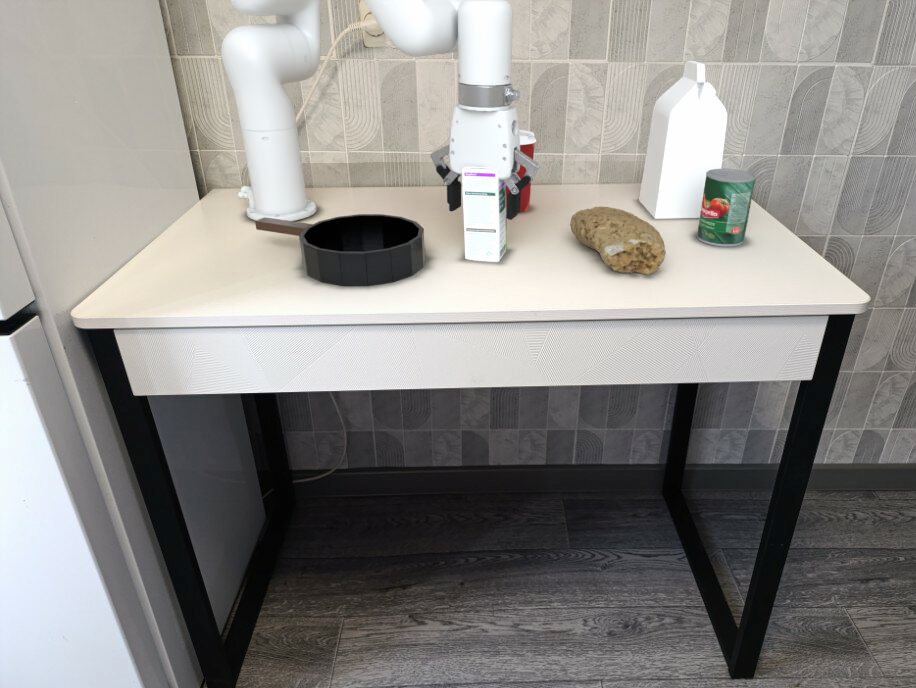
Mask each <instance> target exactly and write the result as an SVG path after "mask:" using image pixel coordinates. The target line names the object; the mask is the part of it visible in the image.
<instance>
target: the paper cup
mask: <svg viewBox="0 0 916 688" xmlns="http://www.w3.org/2000/svg"><path fill="white" fill-rule="evenodd" d="M519 136H520V151H521V152H522V153H524V154H525V155H527V156H528V157H530V158H531V159H533V160H534V155H535V144H536V142H537V138H535V137H536V136H535V132H534V131H531V130H525V129H519ZM525 173H526V168H525V167H523V166H522V165H521V164H520V169H519V171H518V172H517V175H518V176H519V178H520V179H522V178H523V177H524V175H525ZM531 189H532V182H530V183H529V184H528V185H527V186H526V187H525V188H524V189H523V190H521V209H520V212H519V213H524V212H527V211H528V210H529V209H530V200H531V191H532V190H531ZM509 193H510V190H509V188H508V187H507V185H506V209H507V195H508V194H509Z"/></svg>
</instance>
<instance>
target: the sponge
mask: <svg viewBox="0 0 916 688" xmlns="http://www.w3.org/2000/svg"><path fill="white" fill-rule="evenodd" d="M569 226H570V231H571V232H572V235H574V237H575V238H576V239H577V240H578V241H579V242H581V243H582V244H584V245H585V246H587V247H588V248H590V249H592V250H595V251H596V252H598V253H599V255H600V258H601V259H602V261H603V262H604V263H605V265H606V267H607V266H608V267H610V268H611V269H612V270H613V271H615V272H620V273H626V274H627V273H632V274H633V273H634V272H636V273H639V274H641V275H647V276H648V275H651V274H653V273H655V272H656V271H657V270H659V267H660V266H661V265H662V264H663V263H664V261H665V257H666V254H667V253H666V252H667V251H666V246H665V241H664V240H663V237H662V235H661V234H660V232H659V230H657V229H656V228H655V226H653V225H652V224H650V223H649V222H648V221H646V220H644V219H641V218H640V217H638V216H637V215H634V213H632V212H628V211H626V210H623V209H620V208H615V207H610V206H594V207H592V208H586V209H582V210H578V211H576V213H574V214H573V215H572V216H571V218H570V222H569Z"/></svg>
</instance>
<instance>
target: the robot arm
mask: <svg viewBox="0 0 916 688" xmlns="http://www.w3.org/2000/svg"><path fill="white" fill-rule="evenodd" d="M229 2H230V4H231V6H232V7H233V8H234V9H235V10H236V11H237V12H238V13H239V12H240V13H241V14H243V15H246V16H253V17H271V16H275V23H269V22H268V23H255V24H245V25H240V26H237V27H235V28H233V29H231V30H230V31H229V32H228V33H227V34H226V35H225V36H224V37H223V40H222V43H221V49H220V53H221V58H222V59H221V60H222V63H223V67H224V70H225V73H226V75H227V79H228V81H229V84H230V87H231V89H232V93H233V96H234V101H235V104H236V109H237V115H238V120H239V126H240V131H241V137H242V142H243V148H244V155H245V159H246V160H245V161H246V165H247V171H248V176H249V183H250V185H242V186H241V188H240V191H239V192H238V193H237V197H238V199H240V200H248V205H249V206H247V207H246V209H245V210H246V216H247V217H248V218H249V219H251V220H253V221H257V220H259V219H262V218H264V217H266V218H273V219H280V220H287V221H294V222H296V221H300V220H302V219H303V220H304V219H307V218H309V217H311V216H313V215H314V214H315V213H316V212H317V204H316V202H314V201H312V200H309V199H308V198H307V197H308V196H307V191H306V184H305V183H306V182H305V174H304V168H303V161H302V153H301V147H300V138H299V132H298V131H299V130H298V124H297V117H296V112H295V109H294V107H293V104H292V102H291V100H290V99H289V97H288V95H287V93H286V92H285V90H284V88H283V86H282V85H284V84H290V83H296V82H297V83H298V82H303V81H306V80H309V79H310V78H312V77H313V76H314V75H315V74H316V73H317V71H318V69H319V66H320V62H321V57H322V56H321V54H322V36H321V35H322V31H321V30H322V29H321V27H322V26H321V0H229ZM364 2H365V4H366V6H367V8H368V10H369V12H370V13H371V15H372V16H373V18H374V20H375V22H376V23H377V24H378V27H380V29H381V30H382V32H383V34H384V35H385V36H386V38H387V39H388V40H389V42H390V43H391V44H392V45H393V46H394V47H395V48H396V49H397V50H398V51H400V52H401V53H403V54H404V55H406V56H410V57H414V58H421V57H428V56H435V55H445V54H450V53H451V54H452V53H457V81H458V83H457V85H458V86H457V90H458V91H457V93H458V94H457V97H458V100H457V101H458V103H457V104H454V107H453V112H452V117H451V124H450V133H449V134H450V135H449V144H448V145H447V144H446V145H445V146H443V147H441V148H438V149H436V150H434V151H433V152H431V153H430V158H431V161H432V163H433V166H434V167H435V171H436V173H437V174H438V175H439V176H440V178H441V179H442V180H443V184H444V185H445V186H446V203H447V204H448V211H449V212H454V211H457V209H459V208H461V207H462V182H461V181H459V180H460V178H461V177H462V169H463V168H464V167H487V168H493V169H497V170H498V175H499V180H503V181H504V182H505V184H506V185H507V187H508V188H509V190H510V193H509V194H508V195H507V221H508V220H509V221H512V220H513V219H515V218H516V217H517V216H518V214H520V213H521V212H520V209H521V190H523V189H524V188H525V187H526V186H527V185H528V184H529V183H530V182H531V183H532V182H533V181H534V178H535V177H536V175H537V173H538V172H539V169H540V167H541V166H540V164H539V163H538V162H537V161H536V160H534V158H533V159H531V158H530V157H528V156H527V155H525V154H524V153H522V152H521V151H520V136H519V130H520V125H519V117H518V112H517V107H516V106H513V105H511V104H512V103H513V102H514V101H517V102H519V101H520V97H521V91H520V90H517V89H514V88H513V83H512V64H513V63H512V61H513V60H512V59H513V30H514V29H513V27H514V25H513V23H514V11H513V7H512V5H511V3H510V2H509V1H507V0H364ZM448 155H449V156H448ZM445 156H448V159H449V166H448V165H447V164H446V163H445V159H444V157H445ZM520 164H521V165H522V166H523V167H525V168H526V173H525V175H524V177H523V178H522V179H520V178H519V176H518V175H517V172H518V171H519V169H520Z"/></svg>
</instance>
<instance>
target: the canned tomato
mask: <svg viewBox="0 0 916 688" xmlns="http://www.w3.org/2000/svg"><path fill="white" fill-rule="evenodd" d="M756 179H757V175H755V174H754V173H753V172H750V171H747V170H741V169H736V168H735V169H734V168H721V169H713V170H709V171H707V172H706V180H705V187H704V193H703V200H702V206H701V213H700V218H699V220H698V227H697V233H696V238H697V240H698V241H700V242H701V243H704V244H706V245H711V246H714V247H715V246H716V247H724V248H725V247H727V248H728V247H738V246H740V245H743V244H744V243H745V236H746V232H747V227H748V222H749V215H750V209H751V205H752V199H753V195H754V188H755V184H756Z"/></svg>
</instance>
